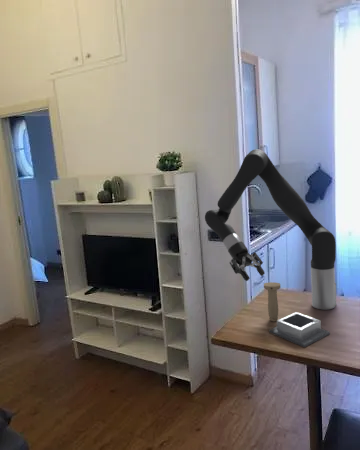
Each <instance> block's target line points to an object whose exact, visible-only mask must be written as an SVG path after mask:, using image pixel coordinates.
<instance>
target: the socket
mask: <svg viewBox="0 0 360 450" xmlns="http://www.w3.org/2000/svg"><path fill="white" fill-rule="evenodd" d="M321 324H322V323H321V319H318V318H315V317H312V316H310V315H306V314H303V313H300V312H298V311H295V312H293V313H291V314H289V315H286V316H284V317H282V318H278V320H277V321H276V326H274V327H271V328H270V329H268V330H269V331H268V332H269V333H270V334H273V335H275V336H277V337H279V338H282V339H284V340H286V341H289V342H290V343H293V344H295V345H298V346H300V347H303V348H306V347H308V346H310V345H312V344H314V343H315V342H317V341H318V342H319V340H321V339H324V338H325V337H328V336H329V335H330V334H331V333H330V331H329V330H326V329H324V328H321V327H322V325H321Z"/></svg>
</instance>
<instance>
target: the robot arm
mask: <svg viewBox="0 0 360 450" xmlns="http://www.w3.org/2000/svg"><path fill="white" fill-rule="evenodd" d="M258 176H259V177H260V179H261V180H262V181H263V182H264V184H265V186H266V187H267V189H268V192H269V193H270V195H271V197H272V199H273V201H274V203H275V204H276V205H277V207H278V208H279V209H280V210H281V211H282V212H283V214H284V215H285V216H286V217H287V218H288V219H290V220H291V221H292V222H293V223H294V224H296V226H297V227H299V229H300V231H302V233H303V234H304V236H305V238H306V239H307V241H308V243H309V244H310V246H311V260H310V281H311V307H313V308H315V309H317V310H325V311H326V310H327V311H328V310H332V309H334V308H336V305H337V283H336V282H335V281H336V278H335V277H336V275H335V262H336V255H337V253H336V252H337V250H336V249H337V244H336V238H335V236H334V234H333V233H332V232H331V231H329V230H328V229H327V228H326V227H325V226H323V225H322V223H320V222H319V221H318V220H317V219H316V218H315V216H313V214H312V213H311V211H310V209H309V206H308V205H307V204H306V203H305V201H304V199H303V198H302V196H301V195H300V194H299V192H297V191H296V189H294V187H293V186H292V185H291V184H290V183H289V182H288V181H287V179H285V177H284V176H283V175H282V174H281V173H280V171H279V170H278V169H277V168H276V166H275V164H273V162H272V160H271V158H270V157H269V156H268V154H267V152H265V151H264V150H261V149H257V148H255V149H252V150H251V151H249V152H248V153H247V154H246V155H245V157H244V158H243V161H242V162H241V165H240V168H239V169H238V171H237V173H236V176H235V177H234V179H233V180H232V182H231V183H230V184H229V185H228V187H227V188H226V189H225V191H224V192H223V193H222V195H221V196H220V198H219V200H218V201H217V207H218V208H217V209H211V210H208V211H206V212H205V215H204V220H205V223H206V225H207V226H208V227H209V228H210V229H211V230H212V231H213V232H214V233H215V234H216V235H217V236H218V237H219V239H220V240H221V242H222V243H223V246H224V247H225V249H226V251H227V252H228V253H229V255H230V257H231V260H229V264H230V267H231V269H232V270H233V272H234V273H235V274H236V275H237V274H238V275H241V277H242V279H243V280H244V281H245V282H247V281H250V276H249V275H248V272H246V270H245V268H246V267H253V268H255V269H256V271H257V273H258V274H259V275H260V276H261V277H262V276H264V275H265V270H264V269H263V268H262V265H263V264H264V262H263V260H262V259H261V258H260V256H259V255H258V253H256V252H253V253H252V254H251V253H249V249H248V248H247V246H246V245H245V243H244V242H243V240H242V239H241V237H240V236H239V235H238V234H237V232H236V231H235V230H234V228H233V227H232V226H231V224H228V223H227V222H228V220H229V217H230V215H231V214H232V213H231V212H232V209H234V207H235V206H236V204H237V203H238V202H239V200H240V199H241V197H242V195H243V193H244V192H245V190H246V189H247V187H248V186H249V185H250V184H251V183H252V182H253V181H254V180H255V178H257V177H258Z"/></svg>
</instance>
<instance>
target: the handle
mask: <svg viewBox="0 0 360 450" xmlns="http://www.w3.org/2000/svg"><path fill="white" fill-rule="evenodd" d="M263 289H264V290H267V311H268V316H269V321H271V322H277V320H279V301H278V293H277V292H278V290H280V289H281V283H280V282H271V281H270V282H269V281H268V282H264V284H263Z"/></svg>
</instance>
